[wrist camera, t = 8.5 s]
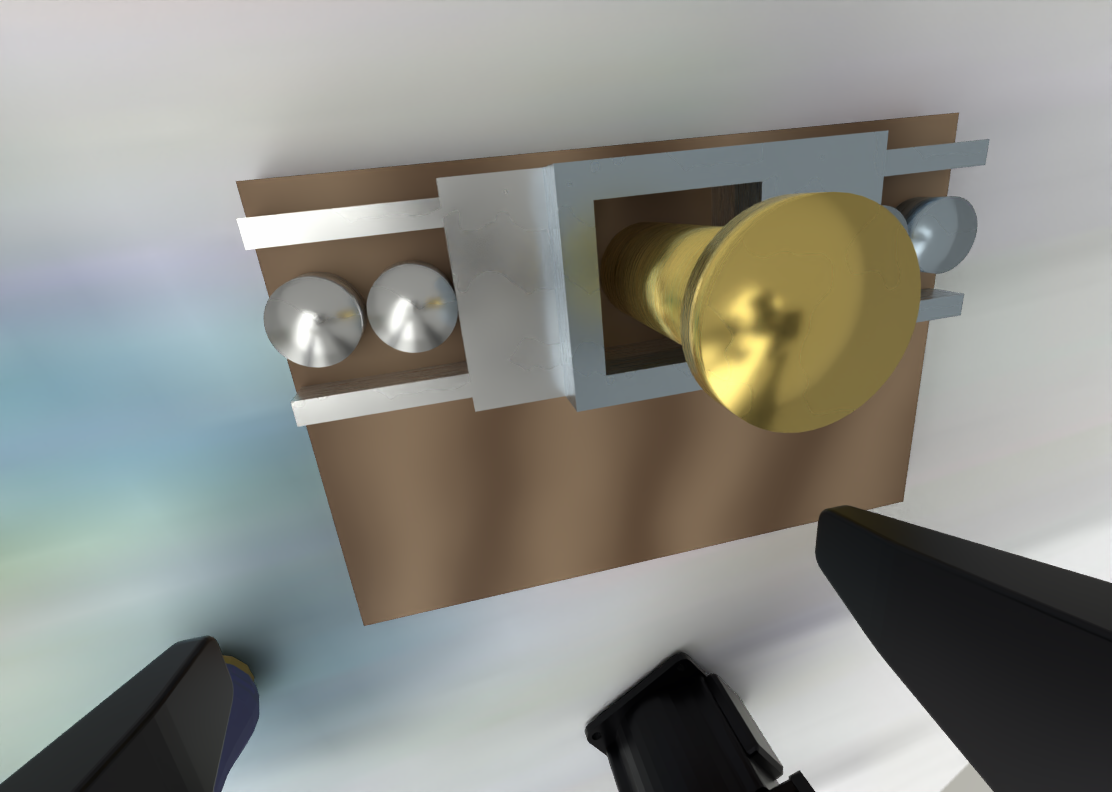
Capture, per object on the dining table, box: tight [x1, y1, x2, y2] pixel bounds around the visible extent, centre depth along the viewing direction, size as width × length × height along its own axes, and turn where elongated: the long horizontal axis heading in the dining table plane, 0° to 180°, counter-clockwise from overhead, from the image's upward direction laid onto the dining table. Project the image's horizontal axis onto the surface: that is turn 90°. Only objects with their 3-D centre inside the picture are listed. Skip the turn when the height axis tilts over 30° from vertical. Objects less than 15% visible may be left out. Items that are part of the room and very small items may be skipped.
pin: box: [600, 192, 921, 433], centre depth 14 cm, size 5×5×9 cm
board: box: [236, 113, 959, 626], centre depth 21 cm, size 24×16×2 cm, turn 96°
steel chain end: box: [237, 168, 735, 427], centre depth 17 cm, size 15×7×2 cm, turn 96°
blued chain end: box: [542, 130, 989, 412], centre depth 18 cm, size 15×7×3 cm, turn 96°
